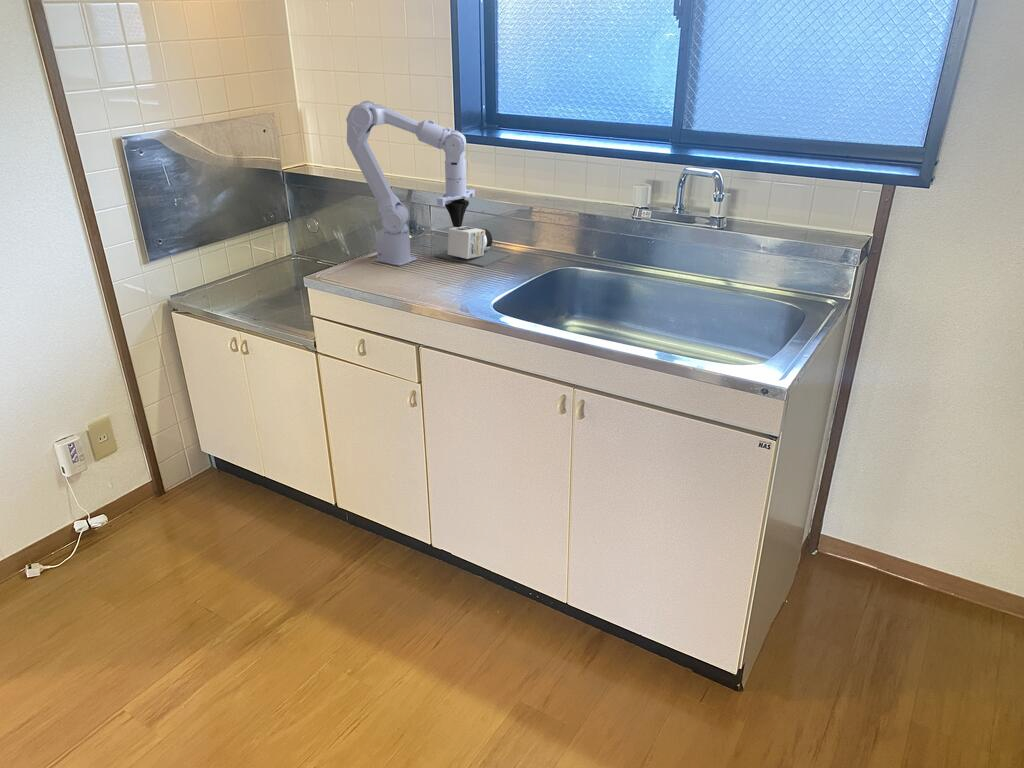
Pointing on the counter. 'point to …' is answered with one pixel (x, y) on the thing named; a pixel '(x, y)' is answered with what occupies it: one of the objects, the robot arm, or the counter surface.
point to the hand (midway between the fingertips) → (457, 226)
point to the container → (468, 242)
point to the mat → (481, 261)
